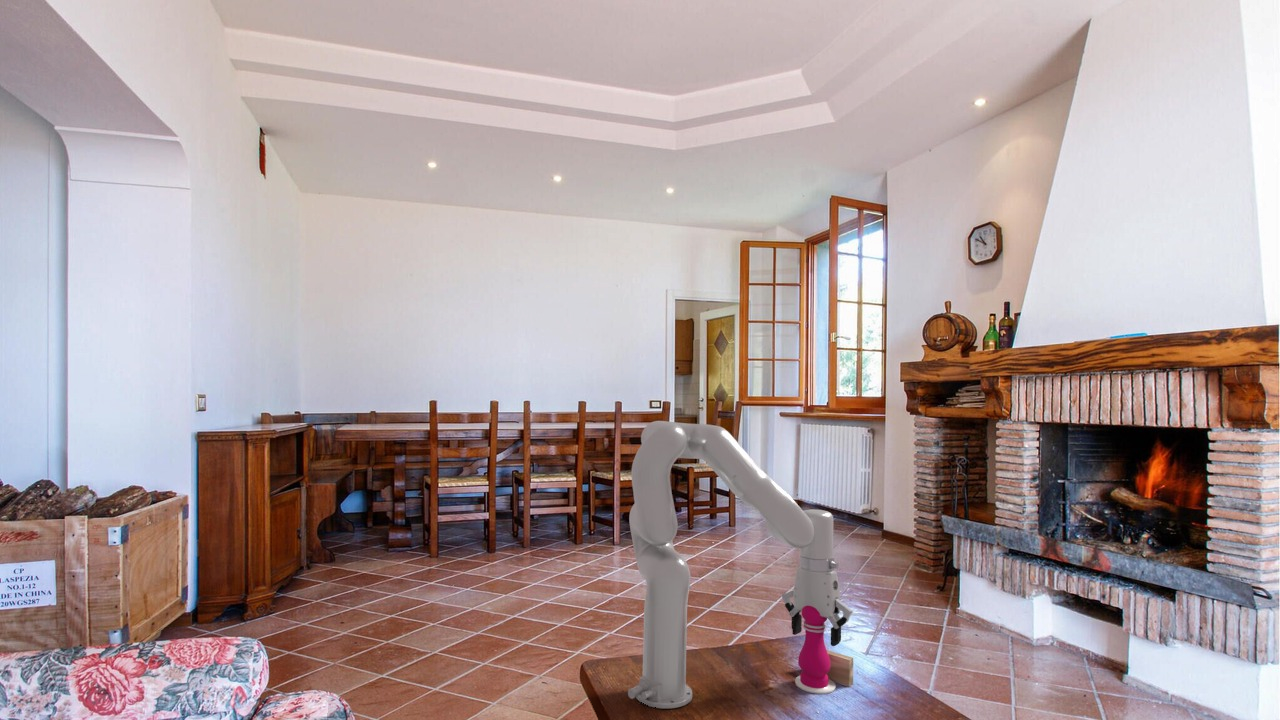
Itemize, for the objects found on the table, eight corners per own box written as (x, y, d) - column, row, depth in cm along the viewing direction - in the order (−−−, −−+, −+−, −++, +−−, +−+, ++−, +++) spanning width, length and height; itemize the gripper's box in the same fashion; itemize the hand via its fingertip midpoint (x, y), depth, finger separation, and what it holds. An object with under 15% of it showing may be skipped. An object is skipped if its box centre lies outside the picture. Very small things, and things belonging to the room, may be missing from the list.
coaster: (824, 697, 144) (824, 695, 144) (788, 685, 150) (788, 682, 150) (842, 685, 151) (842, 682, 151) (806, 673, 157) (806, 671, 157)
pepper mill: (818, 692, 146) (818, 601, 147) (791, 681, 151) (792, 593, 152) (836, 684, 150) (837, 595, 151) (810, 673, 156) (811, 588, 157)
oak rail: (849, 686, 150) (849, 660, 151) (802, 671, 158) (802, 645, 159) (853, 684, 152) (853, 657, 152) (806, 668, 160) (806, 643, 160)
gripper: (858, 568, 149) (858, 644, 148) (791, 554, 161) (790, 625, 160) (844, 574, 144) (843, 653, 143) (775, 559, 155) (774, 633, 154)
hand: (815, 638), depth 151 cm, fingers open, 9 cm apart
